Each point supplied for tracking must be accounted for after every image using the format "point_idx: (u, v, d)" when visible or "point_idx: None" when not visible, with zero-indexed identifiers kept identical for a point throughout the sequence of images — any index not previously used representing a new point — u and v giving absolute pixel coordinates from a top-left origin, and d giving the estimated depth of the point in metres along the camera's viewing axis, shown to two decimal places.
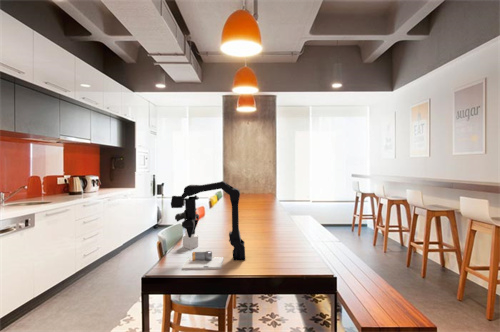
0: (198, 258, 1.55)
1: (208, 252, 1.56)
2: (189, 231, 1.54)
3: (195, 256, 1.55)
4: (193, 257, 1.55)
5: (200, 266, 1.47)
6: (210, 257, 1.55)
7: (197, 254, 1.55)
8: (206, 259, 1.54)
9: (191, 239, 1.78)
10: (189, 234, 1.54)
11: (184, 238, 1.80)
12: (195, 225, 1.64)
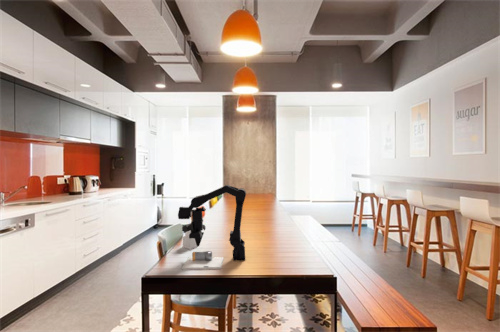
0: (198, 258, 1.55)
1: (208, 252, 1.56)
2: (197, 240, 1.59)
3: (195, 256, 1.55)
4: (193, 257, 1.55)
5: (200, 266, 1.47)
6: (210, 257, 1.55)
7: (197, 254, 1.55)
8: (206, 259, 1.54)
9: (191, 239, 1.78)
10: (197, 243, 1.60)
11: (184, 238, 1.80)
12: None
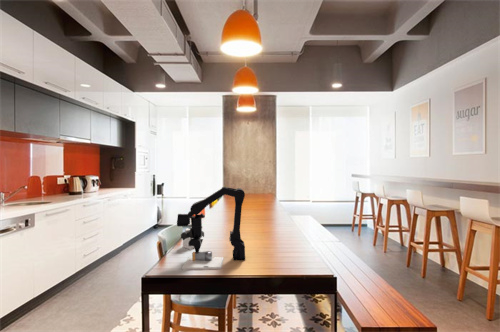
0: (198, 258, 1.55)
1: (208, 252, 1.56)
2: (196, 247, 1.56)
3: (195, 256, 1.55)
4: (193, 257, 1.55)
5: (200, 266, 1.47)
6: (210, 257, 1.55)
7: (197, 254, 1.55)
8: (206, 259, 1.54)
9: None
10: (196, 250, 1.57)
11: None
12: (199, 245, 1.58)
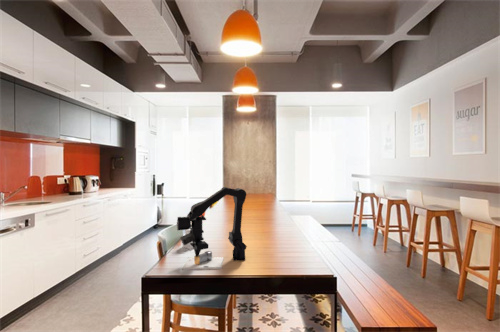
0: (201, 260, 1.51)
1: (208, 252, 1.56)
2: (197, 250, 1.51)
3: (199, 259, 1.50)
4: (198, 261, 1.49)
5: (200, 266, 1.47)
6: (211, 256, 1.56)
7: (201, 257, 1.51)
8: (209, 259, 1.54)
9: None
10: (197, 253, 1.52)
11: None
12: None
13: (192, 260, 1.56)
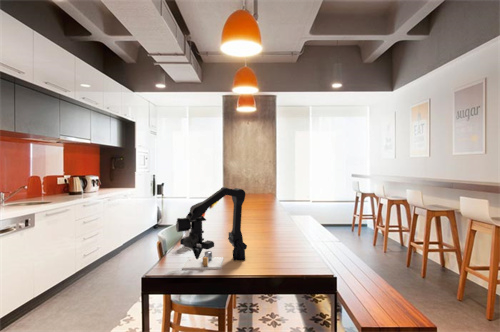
0: (208, 261, 1.51)
1: (208, 252, 1.56)
2: (199, 252, 1.49)
3: (207, 260, 1.49)
4: (207, 261, 1.48)
5: (200, 266, 1.47)
6: None
7: (208, 257, 1.50)
8: (211, 258, 1.55)
9: None
10: (198, 255, 1.49)
11: None
12: None
13: (192, 260, 1.56)
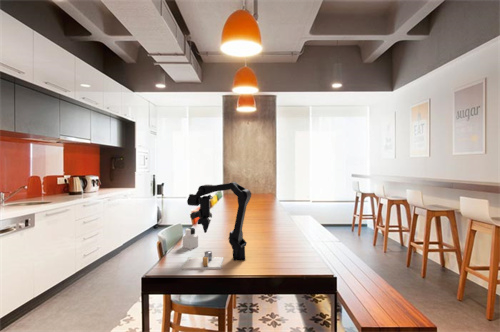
0: (208, 261, 1.51)
1: (208, 252, 1.56)
2: (205, 227, 1.66)
3: (207, 260, 1.49)
4: (207, 261, 1.48)
5: (200, 266, 1.47)
6: None
7: (208, 257, 1.50)
8: (211, 258, 1.55)
9: (191, 239, 1.78)
10: (205, 229, 1.66)
11: (184, 238, 1.80)
12: None
13: (192, 260, 1.56)
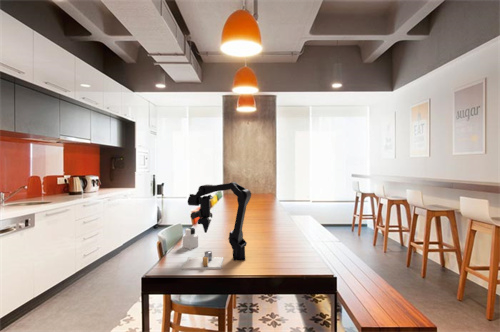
0: (208, 261, 1.51)
1: (208, 252, 1.56)
2: (205, 227, 1.66)
3: (207, 260, 1.49)
4: (207, 261, 1.48)
5: (200, 266, 1.47)
6: None
7: (208, 257, 1.50)
8: (211, 258, 1.55)
9: (191, 239, 1.78)
10: (205, 229, 1.66)
11: (184, 238, 1.80)
12: None
13: (192, 260, 1.56)
